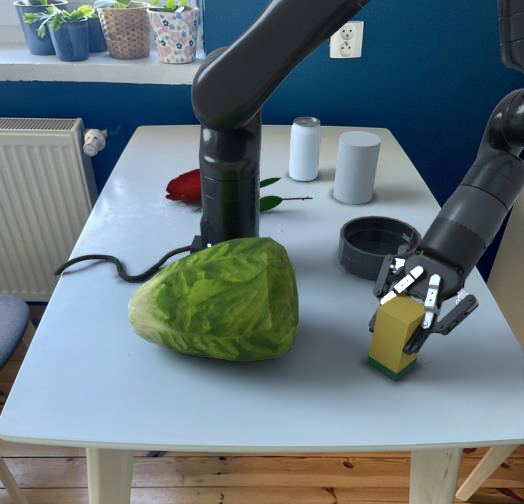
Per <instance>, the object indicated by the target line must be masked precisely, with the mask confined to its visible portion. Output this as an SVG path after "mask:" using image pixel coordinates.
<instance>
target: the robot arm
mask: <svg viewBox="0 0 524 504" xmlns="http://www.w3.org/2000/svg"><path fill="white" fill-rule="evenodd" d="M371 1H372V0H269V1H268V2H267V4H266V5H265V6H264V8H263V10H262V11H261V12H260V14H259V15H257V17H256V18H255V20H254V21H253V22H252V23H251V24H250V25H248V27H247V28H246V29H245V30H244V31H243V32H242V33H241V34H240V35H239V36H238V37H237V38H236V39H235V40H234V41H233V42H231V44H229V45H228V46H227V45H226V46H221V47H218V48H216V49H214V50H212V51H211V52H210V53H208V54H207V55H206V56H205V57H204V59H203V60H202V62H201V63H200V65H199V67H198V69H197V71H196V73H195V74H194V77H193V80H192V83H191V88H190V89H191V90H190V102H191V108H192V111H193V113H194V116H195V118H196V119H197V121H199V122H200V133H199V134H200V136H199V148H198V165H199V169H200V180H201V195H202V210H201V211H202V214H201V218H200V220H199V230H200V231H199V232H200V234H195V235H194V236H193V239H192V241H191V244H189V245H186V246H182V247H178V248H175V249H173V250H171V251H169V252H167V253H166V254H164V255H163V256H162V257H161V258H160V260H159V261H158V262H156V263H154V265H152V266H151V267H149V269H147V270H146V271H144V272H143V273H140V274H137V275H127V274H125V272H124V271H123V268H122V264H121V261H120V259H118V257H116V256H113V255H111V254H101V253H100V254H99V253H98V254H95V253H93V254H85V255H80V256H76V257H73V258H71V259H69V260H68V261H65V262H64V263H63V264H61V265H60V266H59V267H58V268H57V269H56V270H55V271H54V273H53V276H55V277H57V276H60V275H61V274H62V273H63V272H64V271H66V269H68V268H70V267H71V266H73V265H76V264H77V263H80V262H85V261H91V260H93V261H94V260H102V261H103V260H104V261H109V262H113V263H114V265H115V267H116V271H117V274H118V276H119V278H121V279H122V280H124V281H126V282H127V281H128V282H139V281H142V280H145V279H147V278H148V277H149V276H151V274H153V273H154V272H156V271H157V270H158V269H159V268H161V267H162V266H163V265H164V264H165V263H166V262H167V261H168V260H169V259H170V258H172V257H174V256H176V255H179V254H183V253H186V252H189V255H190V254H192V253H195V252H198V251H200V250H203V249H206V248H208V247H210V246H213V245H215V244H218V243H221V242H225V241H229V240H233V239H240V238H251V237H260V215H261V214H260V213H261V212H260V199H261V198H260V197H261V188H260V181H261V154H262V153H261V151H262V138H263V137H262V134H263V133H262V131H263V130H262V129H263V106H264V104H265V103H266V102H267V101H268V100H269V99H270V97H271V96H272V95H273V94H274V93H275V91H276V90H277V89H278V88H279V87H280V86H281V84H282V83H283V82H284V81H285V80H286V78H287V77H288V76H290V74H291V73H292V72H293V71H294V70H295V69H296V68H297V67H298V66H299V65H301V63H302V62H303V61H305V60H306V59H307V58H308V57H309V56H311V55H312V54H313V53H314V52H316V50H318V49H319V48H320V47H321V46H322V45H323V44H325V43H326V42H327V41H328V40H329V39H331V37H333V36H334V35H335V34H336V33H337V32H338V31H340V30H341V29H342V28H343V27H344V26H345V25H346V24H347V23H348V22H349V21H350V20H351V19H353V18H354V17H355V16H356V15H357V14H359V13H360V12H361V11H362V10H363V9H364V7H366V6H367V5H368V4H369V3H370V2H371ZM496 5H497V19H498V20H497V22H498V23H497V24H498V37H499V50H500V51H499V52H500V59H501V63H502V65H503V66H504V68H506V69H508V70H511V71H517V72H519V73H521V74H523V75H524V0H496ZM523 150H524V88H523V87H522V88H519V89H516V90H513V91H511V92H510V93H508V94H506V95H505V96H504V97H503V98H502V99H500V101H499V103H497V105H496V106H495V107H494V109H493V110H492V112H491V114H490V116H489V119H488V121H487V124H486V127H485V129H484V132H483V135H482V137H481V141H480V144H479V147H478V150H477V153H476V157H475V160H474V161H473V163H472V164H471V166H470V167H469V168H468V169H467V172H466V173H465V174H464V177H463V178H462V179H461V181H460V182H459V184H458V186H457V187H456V189H455V190H454V191H453V192H452V194H451V195H450V196H449V197H448V198H447V200H446V201H445V203H444V204H443V205H442V207H441V208H440V211H439V212H438V214H437V215H436V217H435V218H434V219H433V221H432V223H431V224H430V225H429V227H428V229H427V230H426V232H425V234H424V235H423V236H422V237H421V238H422V240H421V241H420V243H419V245H418V246H417V248H416V251H415V252H414V253H413V254H412V255H411V256H410V257H408V258H407V259H406V260H404V259H399V258H394V257H393V255H391V254H388V255H386V256H385V258H384V261H383V264H382V267H381V270H380V273H379V275H378V278H377V280H375V284H374V287H373V290H372V294H373V295H374V296H375V297H376V299H377V300H378V302H379V306H381V305H382V304H384V303H385V302H387V301H388V300H390V299H391V298H393V297H394V296H397V297H398V296H401V295H406V296H408V297H410V298H415V299H419V300H421V301H422V302H423V303H424V304H423V305H424V311H425V312H426V313H425V315H424V316H423V318H422V322H421V325H420V327H419V326H417V328H416V329H415V331H414V332H413V334H412V335H411V337H410V338H409V340H408V342H407V343H406V345H405V346H404V347H403V349H402V351H403V352H404V353H406V354H407V355H409V356H410V355H412V353H415V354H416V353H417V352H419V353H420V351H421V349H422V347H423V346H424V344H425V343H426V341H427V340H428V338H429V337H430V336H431V335H432V334H439V335H442V336H448V335H450V333H452V331H454V330H455V329H456V328H457V327H458V326H459V325H461V323H462V322H463V321H464V320H466V319H467V318H468V317H469V316H470V315H471V314H472V313H473V312H474V311H475V310H476V309H477V308H478V307H479V305H480V303H479V300H478V298H477V297H476V296H475V295H474V294H472V293H469V291H467V289H465V286H466V285H465V284H466V281H467V279H468V278H469V276H470V274H471V273H472V272H473V270H474V268H475V267H476V265H477V264H478V263H479V261H480V259H481V258H482V256H483V255H484V253H485V252H486V250H487V249H488V247H489V246H490V245H491V244H492V243H493V241H494V240H495V237H496V235H497V233H498V232H499V230H500V228H501V226H502V224H503V222H504V220H505V219H506V216H507V215H508V213H509V212H510V210H511V208H512V207H513V205H514V204H515V203H516V201H517V199H518V198H519V196H520V195H521V193H522V191H523V190H524V160H523V159H522V158H520V157H519V155H520V154H521V152H522V151H523ZM403 268H404V277H403V278H402V279H401V280H400V281H399V282H397V283H396V285H394V286H393V288H392V284H393V281H394V280H395V279H394V276H395V275H396V274H398V273H399V272H400V270H401V269H403ZM393 279H394V280H393ZM391 288H392V290H391ZM390 290H391V291H390ZM455 297H457V299H456V300H455V305H454V307H453V308H452V309H451V310H449V312H447V314H445V315H444V316H443V317H442V318H441V319H440V320H439V321H438V319H439V317H440V316H441V312H442V309H443V304H444V302H445V301H448V300H450V299H452V298H455ZM377 311H378V308H376V311H375V312H374V314H373V315H372V317H371V318H370V320H369V321H368V326H369V328H368V332H370V333H371V334H373V332H374V326H375V321H376V316H377Z"/></svg>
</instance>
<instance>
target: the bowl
mask: <svg viewBox="0 0 524 504" xmlns="http://www.w3.org/2000/svg"><path fill="white" fill-rule="evenodd" d="M422 238H423V237H422V234H421V233H420V232H419V231H418V230H417V229H416V228H415V227H414V226H412V224H409V223H408V222H406V221H403V220H400V219H397V218H394V217H390V216H382V215H364V216H359V217H356V218H352V219H350V220H348V221H346V222H345V223H344V224H343V225H342V227H341V228H340V230H339V238H338V245H337V246H338V247H337V260H338V261H339V262H340V264H341V265H342V267H344V268H345V270H347V271H348V272H350V273H351V274H353V275H355V276H357V277H359V278H363V279H366V280H372V281H377V278H378V275H379V273H380V270H381V267H382V264H383V261H384V258H385V256H386V255H388V254H391V255H393V257H394V258H399V259H404V260H406V259H407V258H408V257H410V256H411V255H412V254H413V253H414V252H415V251H416V248H417V246H418V245H419V243H420V241H421V240H422ZM402 278H404V268H403V269H401V270H400V272H399V273H398V274H396V275H395V276H394V279H393V281H394V280H399V279H402Z"/></svg>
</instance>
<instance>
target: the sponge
mask: <svg viewBox="0 0 524 504" xmlns="http://www.w3.org/2000/svg"><path fill="white" fill-rule="evenodd" d="M424 305H425V304H424V303H422V302H420V301H418V300H417V299H414V298H413V297H408V296H406V295H401V296H398V297H397V296H394V297H393V298H391V299H390V300H388V301H387V302H385V303H384V304H382V305H381V306H380V305H378V307H377V309H378V311H377V310H376V311H377V316H376V321H375V326H374V332H373V333H372V338H371V341H370V347H369V352H368V357H367V365H368V366H370V367H372V368H373V369H375V370H376V371H377V372H379V373H381V374H382V375H384V376H386V377H387V378H389V379H390V380H391V381H393V382H396V381H398V380H399V379H400V378H401V377H403V376H404V375H405V374H406V373H408V372H409V371H410V370H411V369H413V368H414V367H415V366H416V364H417V360H418V357H419V353H420V351H419V352H417V353H416V354H415V353H412V355H410V356H409V355H407V354H406V353H404V352H403V351H402V349H403V347H404V346H405V345H406V343H407V342H408V340H409V338H410V337H411V335H412V334H413V332H414V331H415V329H416V328H417V326H419V327H420V325H421V322H422V318H423V316H424V315H425V313H426V312H425V311H424Z"/></svg>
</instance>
